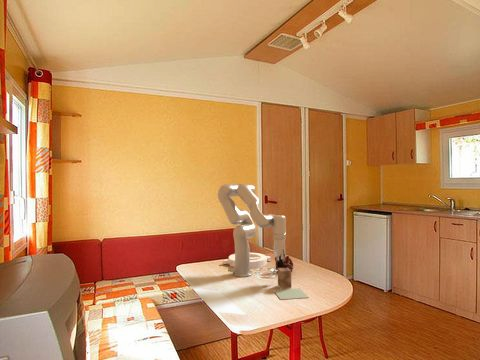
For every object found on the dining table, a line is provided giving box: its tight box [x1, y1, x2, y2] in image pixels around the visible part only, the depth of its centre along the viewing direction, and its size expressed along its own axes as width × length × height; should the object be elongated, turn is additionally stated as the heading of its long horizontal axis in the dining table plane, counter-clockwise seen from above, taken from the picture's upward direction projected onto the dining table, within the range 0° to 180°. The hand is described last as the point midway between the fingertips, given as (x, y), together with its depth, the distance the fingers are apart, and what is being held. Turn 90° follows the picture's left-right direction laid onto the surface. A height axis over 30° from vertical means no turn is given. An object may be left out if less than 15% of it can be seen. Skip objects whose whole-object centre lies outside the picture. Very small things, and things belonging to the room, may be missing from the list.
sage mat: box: [273, 287, 309, 301], centre depth 156 cm, size 15×13×1 cm
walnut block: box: [277, 268, 292, 290], centre depth 166 cm, size 6×6×10 cm
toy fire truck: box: [274, 255, 294, 273], centre depth 195 cm, size 7×12×10 cm, turn 101°
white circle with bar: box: [222, 252, 272, 269], centre depth 218 cm, size 28×28×5 cm
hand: (280, 267), depth 175 cm, fingers closed
